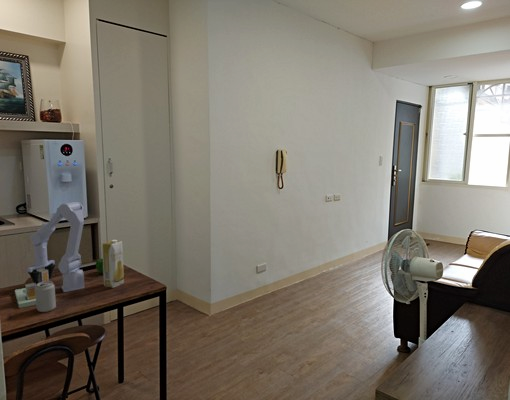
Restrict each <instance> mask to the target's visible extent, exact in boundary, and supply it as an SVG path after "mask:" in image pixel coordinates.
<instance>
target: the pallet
mask: <svg viewBox="0 0 510 400" xmlns="http://www.w3.org/2000/svg"><path fill="white" fill-rule="evenodd" d="M36 287H37V285H36ZM14 295H15V298H16V299H15V300H16V302H17V306H18V309H22V308H26V307H31V306H36V299H31V300H26V288H25V287H23V288H18V289H17V288H16V289H15V290H14Z"/></svg>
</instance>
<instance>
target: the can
mask: <svg viewBox="0 0 510 400" xmlns="http://www.w3.org/2000/svg"><path fill="white" fill-rule="evenodd" d="M36 286H37V287H36V288H35V294H36V305H35V307H36V310H37V311H38V312H39V313H48V312H51V311H53V310H54V309H56V307H57V302H56V286H55V284H54V282H53V281H51V280H49V281H45V282H40V283H38V284H36Z"/></svg>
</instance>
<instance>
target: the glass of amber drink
mask: <svg viewBox="0 0 510 400" xmlns="http://www.w3.org/2000/svg"><path fill="white" fill-rule="evenodd" d="M36 286H37V284H36V283H34V282H33V283H27V284H25V287H24V288H26V300H31V299H36V294H35V288H36Z"/></svg>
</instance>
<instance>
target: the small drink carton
mask: <svg viewBox="0 0 510 400" xmlns="http://www.w3.org/2000/svg"><path fill="white" fill-rule="evenodd" d="M36 271H39V277H38V280H39V283H40V282H45V281H50V279H49V275H48V270H47V269H45V268H40V269H37V270H36Z"/></svg>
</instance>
